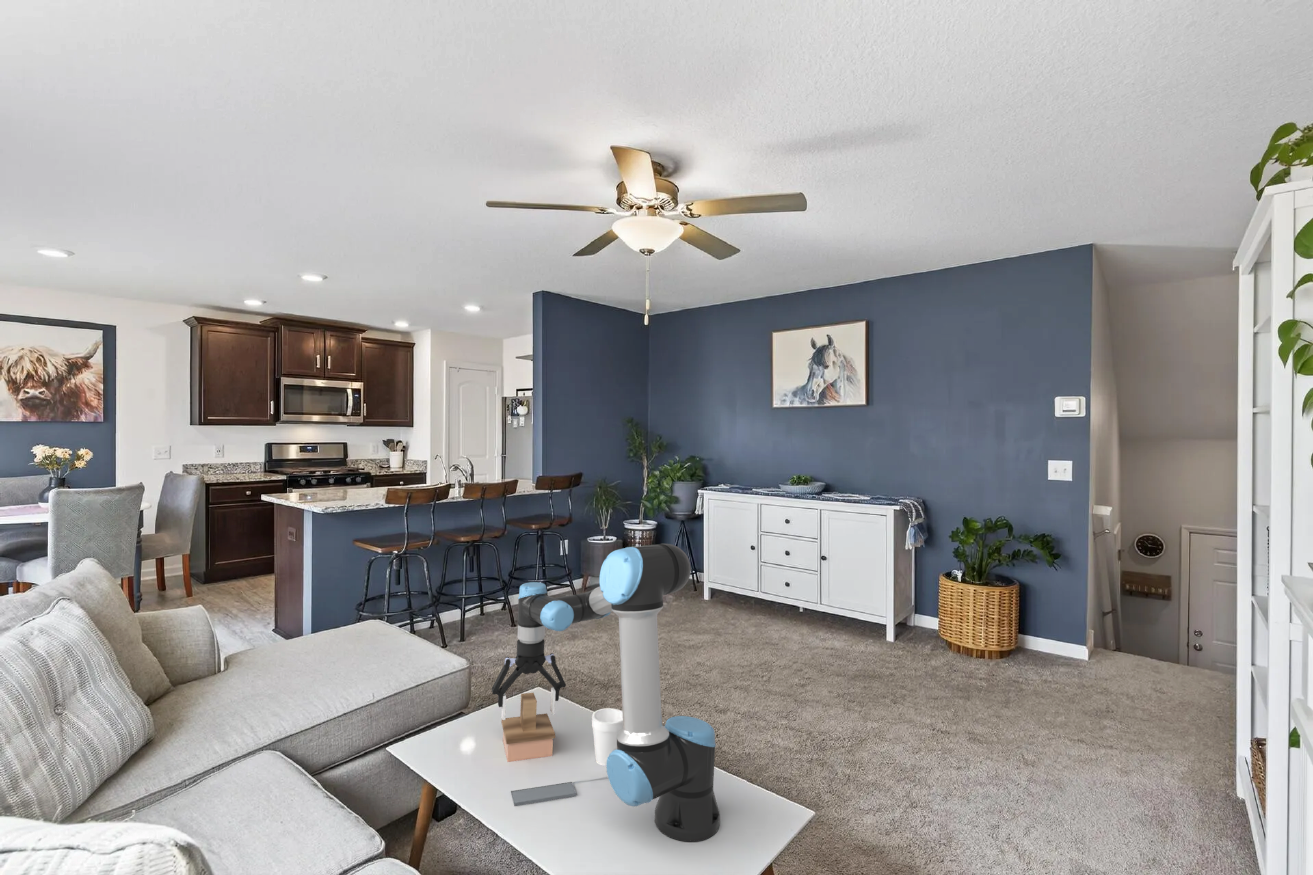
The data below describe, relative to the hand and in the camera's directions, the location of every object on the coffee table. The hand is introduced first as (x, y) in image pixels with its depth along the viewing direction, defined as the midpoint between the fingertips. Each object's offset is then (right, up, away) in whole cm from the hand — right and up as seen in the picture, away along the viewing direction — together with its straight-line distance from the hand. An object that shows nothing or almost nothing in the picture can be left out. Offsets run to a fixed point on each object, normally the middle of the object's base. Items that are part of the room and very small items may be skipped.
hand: (528, 715), depth 176 cm
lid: (0, -4, 0) cm, 4 cm away
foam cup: (+22, -11, -5) cm, 26 cm away
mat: (+6, -11, -15) cm, 19 cm away
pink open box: (0, -10, 0) cm, 10 cm away
